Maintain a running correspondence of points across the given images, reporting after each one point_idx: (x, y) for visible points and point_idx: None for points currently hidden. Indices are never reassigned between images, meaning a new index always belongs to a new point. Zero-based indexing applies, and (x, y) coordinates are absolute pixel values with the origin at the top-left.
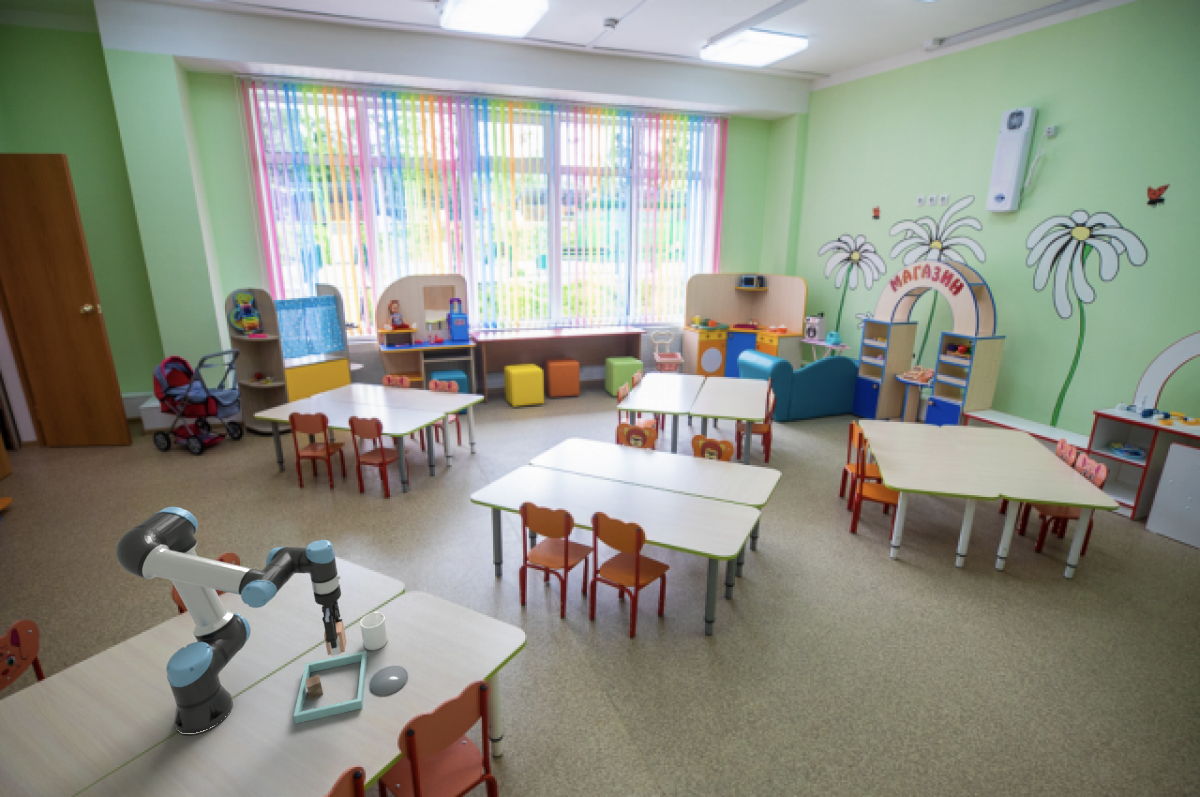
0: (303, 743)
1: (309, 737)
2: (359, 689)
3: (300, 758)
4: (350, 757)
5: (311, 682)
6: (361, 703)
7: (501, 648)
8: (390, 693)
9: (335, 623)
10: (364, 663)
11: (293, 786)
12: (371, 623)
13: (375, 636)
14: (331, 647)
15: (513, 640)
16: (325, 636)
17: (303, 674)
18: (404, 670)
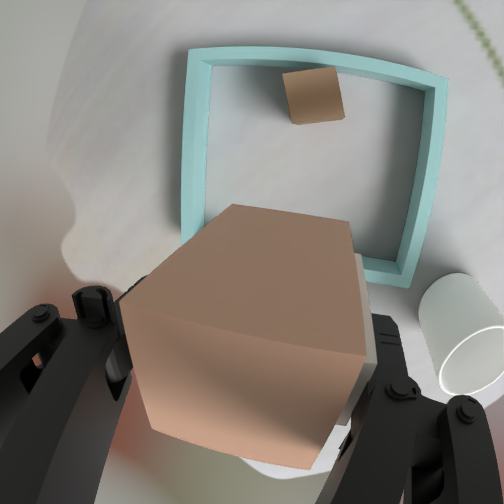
0: (131, 93)
1: (142, 104)
2: None
3: (97, 98)
4: (78, 206)
5: (305, 88)
6: None
7: (264, 465)
8: None
9: (92, 498)
10: None
11: (54, 104)
12: (496, 329)
13: (430, 338)
14: (139, 280)
15: (274, 476)
16: (135, 298)
17: (392, 63)
18: None
